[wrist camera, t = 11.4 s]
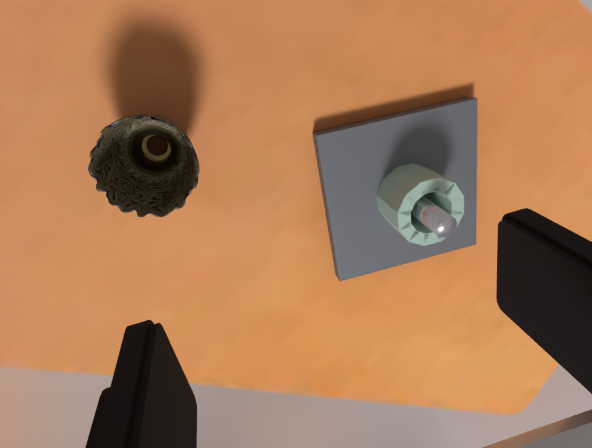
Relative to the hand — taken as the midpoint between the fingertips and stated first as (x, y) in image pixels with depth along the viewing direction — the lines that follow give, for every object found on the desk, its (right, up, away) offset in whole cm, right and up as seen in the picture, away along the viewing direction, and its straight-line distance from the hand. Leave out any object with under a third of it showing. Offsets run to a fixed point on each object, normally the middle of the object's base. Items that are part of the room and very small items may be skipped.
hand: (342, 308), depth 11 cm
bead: (+10, +5, +31) cm, 33 cm away
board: (+9, +6, +32) cm, 34 cm away
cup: (-14, +9, +25) cm, 30 cm away
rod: (+10, +5, +31) cm, 33 cm away
